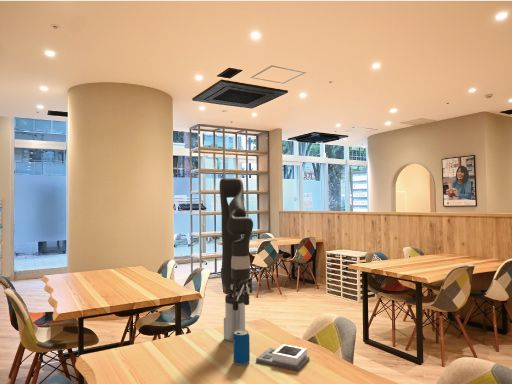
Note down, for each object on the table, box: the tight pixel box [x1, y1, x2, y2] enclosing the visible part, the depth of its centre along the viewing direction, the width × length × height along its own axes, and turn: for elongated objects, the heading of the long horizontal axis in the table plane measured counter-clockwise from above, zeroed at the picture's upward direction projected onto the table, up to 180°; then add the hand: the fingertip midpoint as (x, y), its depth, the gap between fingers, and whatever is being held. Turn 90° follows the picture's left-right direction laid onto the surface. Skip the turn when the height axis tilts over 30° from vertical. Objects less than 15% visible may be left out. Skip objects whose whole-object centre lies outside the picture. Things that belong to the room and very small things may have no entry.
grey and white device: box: [255, 343, 310, 372], centre depth 150 cm, size 18×12×4 cm, turn 61°
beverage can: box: [232, 329, 251, 366], centre depth 149 cm, size 6×6×12 cm
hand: (241, 307), depth 150 cm, fingers open, 8 cm apart
